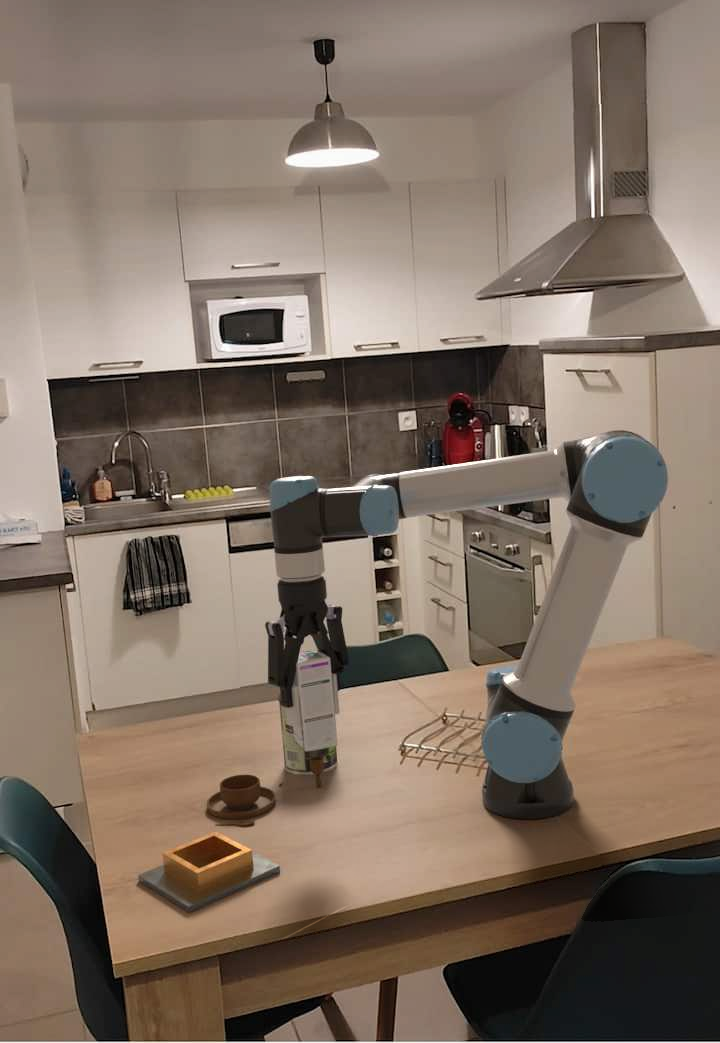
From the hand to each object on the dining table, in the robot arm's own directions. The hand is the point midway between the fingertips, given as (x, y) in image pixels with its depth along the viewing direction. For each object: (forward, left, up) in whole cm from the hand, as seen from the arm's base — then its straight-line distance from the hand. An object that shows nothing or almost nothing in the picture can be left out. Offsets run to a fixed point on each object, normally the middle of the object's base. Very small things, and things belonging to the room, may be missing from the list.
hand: (313, 718), depth 168 cm
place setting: (+17, -1, -20) cm, 27 cm away
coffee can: (+25, -18, -20) cm, 37 cm away
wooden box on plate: (+2, +20, -20) cm, 28 cm away
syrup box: (0, 0, -4) cm, 4 cm away
